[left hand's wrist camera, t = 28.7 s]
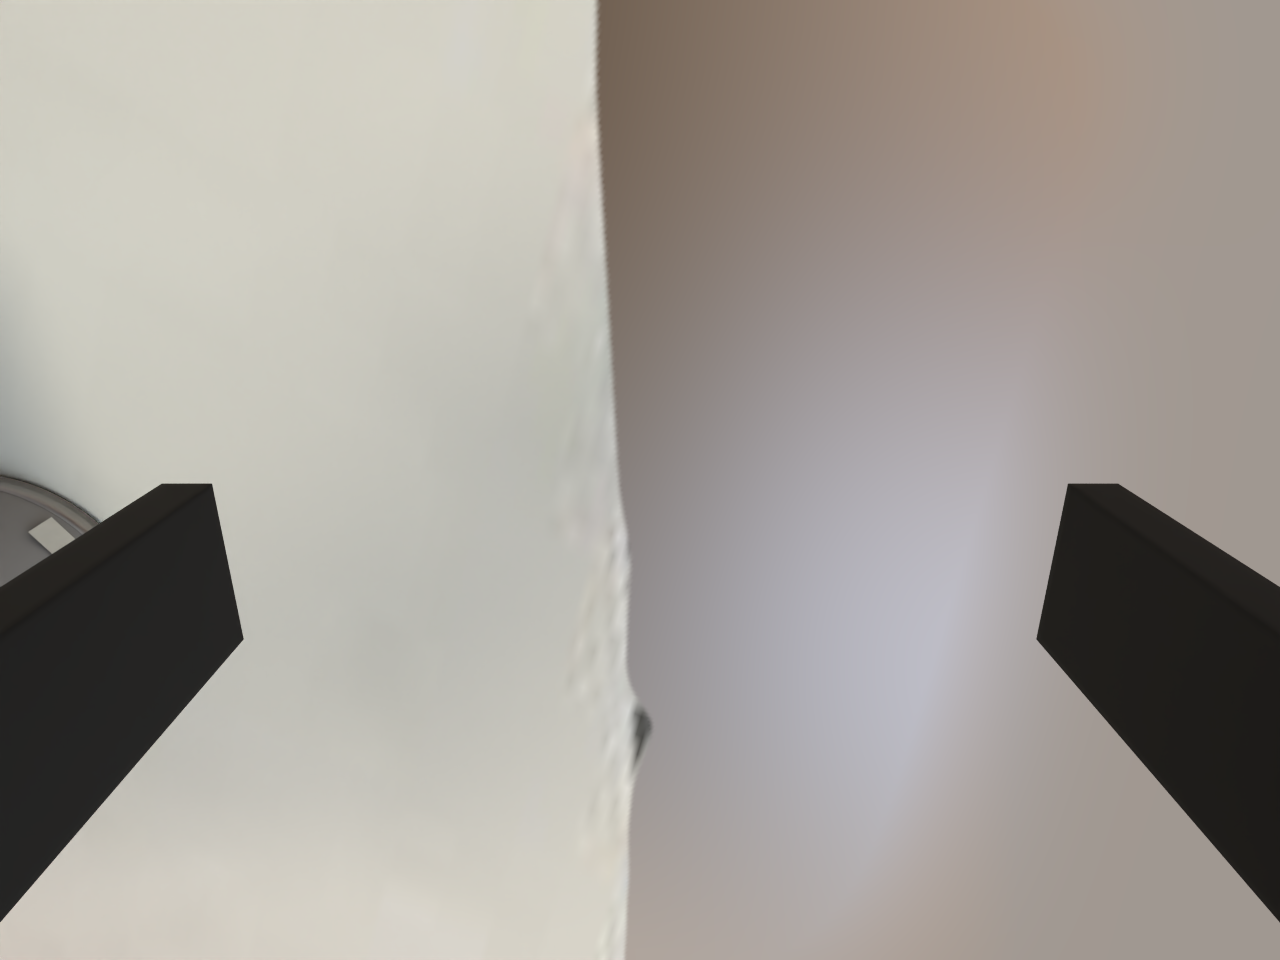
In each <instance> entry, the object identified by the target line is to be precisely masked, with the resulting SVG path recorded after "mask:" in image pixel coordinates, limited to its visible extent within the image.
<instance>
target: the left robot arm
mask: <svg viewBox="0 0 1280 960" xmlns="http://www.w3.org/2000/svg"><path fill="white" fill-rule="evenodd" d="M242 640H243V634H242V629H241V624H240V619H239V614H238V609H237V605H236V600H235V595H234V590H233V585H232V580H231V575H230V570H229V565H228V560H227V555H226V550H225V546H224V541H223V536H222V531H221V526H220V521H219V516H218V511H217V506H216V501H215V496H214V492H213V487H212V484H161V485H159V486H158V487H156V488H154V489H153V490H151V491H150V492H148V493H147V494H145V495H143V496H142V497H140V498H139V499H137V500H136V501H134V502H133V503H131V504H129V505H128V506H126V507H125V508H123V509H122V510H120V511H118V512H117V513H115V514H114V515H112V516H111V517H109V518H108V519H106V520H104V521H103V522H101V523H100V524H99V523H98V522H96V521H95V520H94V519H93V518H91V517H90V516H89V515H88V514H86V513H85V512H84V511H82V510H81V509H79V508H78V507H76V506H75V505H73V504H72V503H70V502H68V501H66V500H65V499H63V498H61V497H59V496H57V495H55V494H53V493H51V492H49V491H47V490H45V489H42V488H39V487H37V486H34V485H32V484H29V483H25V482H22V481H19V480H15V479H10V478H6V477H1V476H0V922H1V921H2V920H3V918H4V917H5V916H6V915H7V914H8V913H9V911H10V910H11V909H12V908H13V907H14V906H15V904H16V903H17V902H18V901H19V900H20V899H21V897H22V896H23V895H24V894H25V893H26V892H27V890H28V889H29V888H30V887H31V886H32V885H33V883H34V882H35V881H36V880H37V879H38V878H39V877H40V875H41V874H42V873H43V872H44V871H45V870H46V868H47V867H48V866H49V865H50V864H51V863H52V861H53V860H54V859H55V858H56V857H57V856H58V854H59V853H60V852H61V851H62V850H63V849H64V847H65V846H66V845H67V844H68V843H69V842H70V840H71V839H72V838H73V837H74V836H75V835H76V833H77V832H78V831H79V830H80V829H81V828H82V827H83V825H84V824H85V823H86V822H87V821H88V820H89V818H90V817H91V816H92V815H93V814H94V813H95V811H96V810H97V809H98V808H99V807H100V806H101V804H102V803H103V802H104V801H105V800H106V799H107V797H108V796H109V795H110V794H111V793H112V792H113V790H114V789H115V788H116V787H117V786H118V785H119V783H120V782H121V781H122V780H123V779H124V778H125V776H126V775H127V774H128V773H129V772H130V771H131V770H132V768H133V767H134V766H135V765H136V764H137V763H138V761H139V760H140V759H141V758H142V757H143V756H144V754H145V753H146V752H147V751H148V750H149V749H150V747H151V746H152V745H153V744H154V743H155V742H156V740H157V739H158V738H159V737H160V736H161V735H162V733H163V732H164V731H165V730H166V729H167V728H168V726H169V725H170V724H171V723H172V722H173V721H174V720H175V718H176V717H177V716H178V715H179V714H180V713H181V711H182V710H183V709H184V708H185V707H186V706H187V704H188V703H189V702H190V701H191V700H192V699H193V697H194V696H195V695H196V694H197V693H198V692H199V690H200V689H201V688H202V687H203V686H204V685H205V683H206V682H207V681H208V680H209V679H210V678H211V676H212V675H213V674H214V673H215V672H216V671H217V670H218V668H219V667H220V666H221V665H222V664H223V663H224V661H225V660H226V659H227V658H228V657H229V656H230V654H231V653H232V652H233V651H234V650H235V649H236V647H237V646H238V645H239V644H240V643H241V642H242ZM1037 640H1038V642H1039V643H1040V644H1041V645H1042V646H1043V647H1044V649H1045V650H1046V651H1047V652H1048V653H1049V654H1050V656H1051V657H1052V658H1053V659H1054V660H1055V661H1056V663H1057V664H1058V665H1059V666H1060V667H1061V668H1062V669H1063V671H1064V672H1065V673H1066V674H1067V675H1068V676H1069V678H1070V679H1071V680H1072V681H1073V682H1074V683H1075V685H1076V686H1077V687H1078V688H1079V689H1080V690H1081V692H1082V693H1083V694H1084V695H1085V696H1086V697H1087V699H1088V700H1089V701H1090V702H1091V703H1092V704H1093V706H1094V707H1095V708H1096V709H1097V710H1098V711H1099V713H1100V714H1101V715H1102V716H1103V717H1104V718H1105V719H1106V721H1107V722H1108V723H1109V724H1110V725H1111V726H1112V728H1113V729H1114V730H1115V731H1116V732H1117V733H1118V735H1119V736H1120V737H1121V738H1122V739H1123V740H1124V742H1125V743H1126V744H1127V745H1128V746H1129V747H1130V749H1131V750H1132V751H1133V752H1134V753H1135V754H1136V756H1137V757H1138V758H1139V759H1140V760H1141V761H1142V763H1143V764H1144V765H1145V766H1146V767H1147V768H1148V770H1149V771H1150V772H1151V773H1152V774H1153V775H1154V776H1155V778H1156V779H1157V780H1158V781H1159V782H1160V783H1161V785H1162V786H1163V787H1164V788H1165V789H1166V790H1167V792H1168V793H1169V794H1170V795H1171V796H1172V797H1173V799H1174V800H1175V801H1176V802H1177V803H1178V804H1179V806H1180V807H1181V808H1182V809H1183V810H1184V811H1185V812H1186V814H1187V815H1188V816H1189V817H1190V818H1191V820H1192V821H1193V822H1194V823H1195V824H1196V825H1197V827H1198V828H1199V829H1200V830H1201V831H1202V832H1203V833H1204V835H1205V836H1206V837H1207V838H1208V839H1209V840H1210V842H1211V843H1212V844H1213V845H1214V846H1215V847H1216V849H1217V850H1218V851H1219V852H1220V853H1221V854H1222V856H1223V857H1224V858H1225V859H1226V860H1227V861H1228V863H1229V864H1230V865H1231V866H1232V867H1233V868H1234V870H1235V871H1236V872H1237V873H1238V874H1239V875H1240V877H1241V878H1242V879H1243V880H1244V881H1245V882H1246V883H1247V885H1248V886H1249V887H1250V888H1251V889H1252V890H1253V892H1254V893H1255V894H1256V895H1257V896H1258V897H1259V899H1260V900H1261V901H1262V902H1263V903H1264V904H1265V906H1266V907H1267V908H1268V909H1269V910H1270V911H1271V913H1272V914H1273V915H1274V916H1275V917H1276V918H1277V919H1278V921H1279V922H1280V587H1279V586H1277V585H1276V584H1274V583H1273V582H1271V581H1269V580H1268V579H1266V578H1265V577H1263V576H1262V575H1260V574H1259V573H1257V572H1255V571H1254V570H1252V569H1251V568H1249V567H1248V566H1246V565H1244V564H1243V563H1241V562H1240V561H1238V560H1237V559H1235V558H1234V557H1232V556H1230V555H1229V554H1227V553H1226V552H1224V551H1223V550H1221V549H1219V548H1218V547H1216V546H1215V545H1213V544H1212V543H1210V542H1208V541H1207V540H1205V539H1204V538H1202V537H1201V536H1199V535H1198V534H1196V533H1194V532H1193V531H1191V530H1190V529H1188V528H1187V527H1185V526H1183V525H1182V524H1180V523H1179V522H1177V521H1176V520H1174V519H1172V518H1171V517H1169V516H1168V515H1166V514H1165V513H1163V512H1162V511H1160V510H1158V509H1157V508H1155V507H1154V506H1152V505H1151V504H1149V503H1147V502H1146V501H1144V500H1143V499H1141V498H1140V497H1138V496H1136V495H1135V494H1133V493H1132V492H1130V491H1129V490H1127V489H1126V488H1124V487H1122V486H1121V485H1119V484H1068V487H1067V492H1066V496H1065V501H1064V506H1063V511H1062V516H1061V521H1060V526H1059V531H1058V536H1057V541H1056V546H1055V550H1054V556H1053V560H1052V565H1051V570H1050V575H1049V580H1048V585H1047V590H1046V595H1045V600H1044V605H1043V609H1042V614H1041V619H1040V624H1039V629H1038V634H1037Z"/></svg>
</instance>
